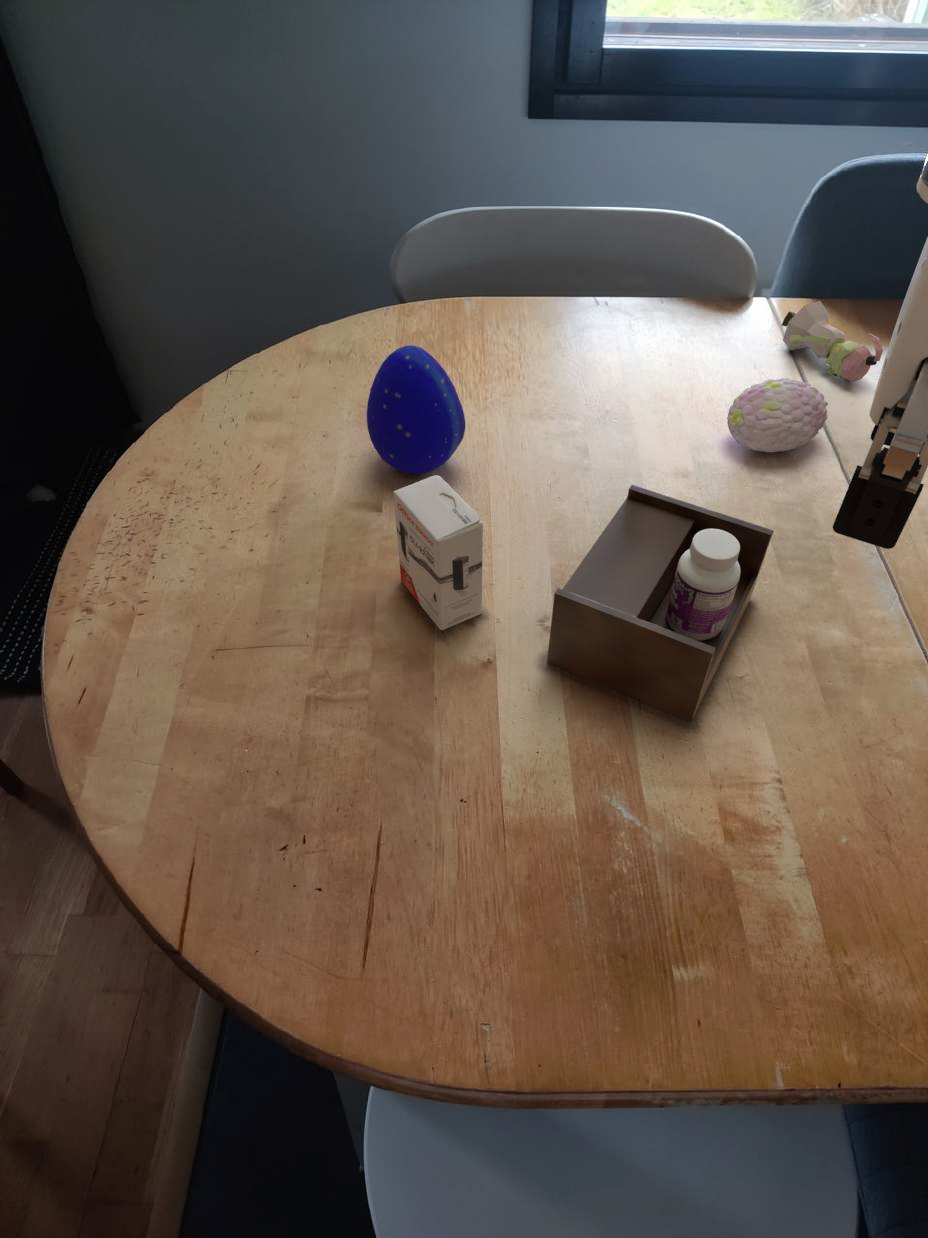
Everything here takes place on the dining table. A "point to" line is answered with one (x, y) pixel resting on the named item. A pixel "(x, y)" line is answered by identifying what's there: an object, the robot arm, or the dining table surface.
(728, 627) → the brown open box
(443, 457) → the ornament
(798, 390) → the decorative item
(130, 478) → the dining table surface
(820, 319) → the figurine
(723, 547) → the pill bottle
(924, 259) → the robot arm
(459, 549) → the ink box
